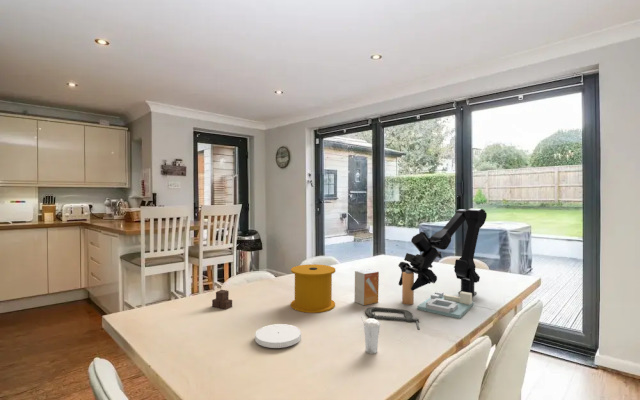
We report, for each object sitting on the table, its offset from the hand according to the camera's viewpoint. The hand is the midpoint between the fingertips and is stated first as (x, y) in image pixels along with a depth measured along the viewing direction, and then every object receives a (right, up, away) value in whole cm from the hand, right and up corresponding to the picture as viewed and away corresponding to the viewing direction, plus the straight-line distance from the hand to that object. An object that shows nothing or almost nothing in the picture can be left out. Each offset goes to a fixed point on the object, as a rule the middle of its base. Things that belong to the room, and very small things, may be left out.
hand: (405, 287), depth 138 cm
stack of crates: (-74, -7, -5) cm, 74 cm away
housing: (+15, -7, -4) cm, 17 cm away
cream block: (+21, -5, -1) cm, 22 cm away
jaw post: (+1, -7, +1) cm, 7 cm away
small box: (-16, -7, +1) cm, 17 cm away
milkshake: (-21, -7, -43) cm, 48 cm away
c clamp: (-9, -8, -16) cm, 20 cm away
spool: (-38, -7, -3) cm, 39 cm away
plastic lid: (-48, -7, -36) cm, 60 cm away
